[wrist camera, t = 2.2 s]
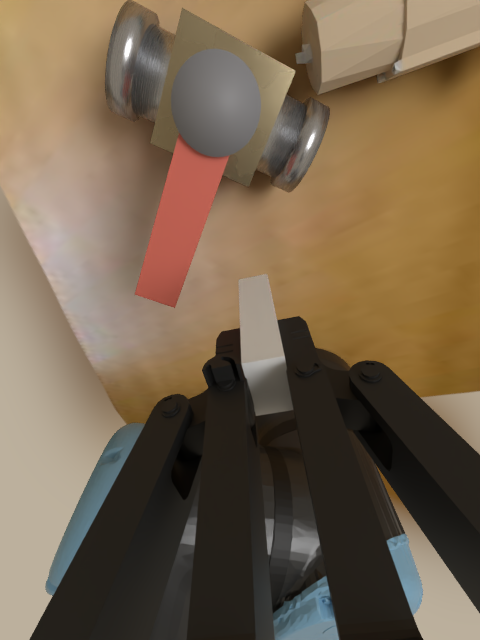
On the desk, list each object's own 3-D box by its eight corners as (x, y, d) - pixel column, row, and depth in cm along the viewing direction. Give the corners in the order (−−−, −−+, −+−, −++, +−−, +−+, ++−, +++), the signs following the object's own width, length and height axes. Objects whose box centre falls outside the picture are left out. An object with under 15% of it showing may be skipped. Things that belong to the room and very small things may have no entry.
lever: (195, 45, 17) (186, 28, 14) (268, 84, 18) (276, 77, 15) (136, 268, 24) (121, 293, 21) (191, 288, 25) (185, 314, 22)
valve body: (319, 100, 25) (345, 95, 19) (278, 189, 28) (290, 208, 22) (148, 7, 22) (118, -32, 16) (126, 119, 25) (95, 121, 19)
